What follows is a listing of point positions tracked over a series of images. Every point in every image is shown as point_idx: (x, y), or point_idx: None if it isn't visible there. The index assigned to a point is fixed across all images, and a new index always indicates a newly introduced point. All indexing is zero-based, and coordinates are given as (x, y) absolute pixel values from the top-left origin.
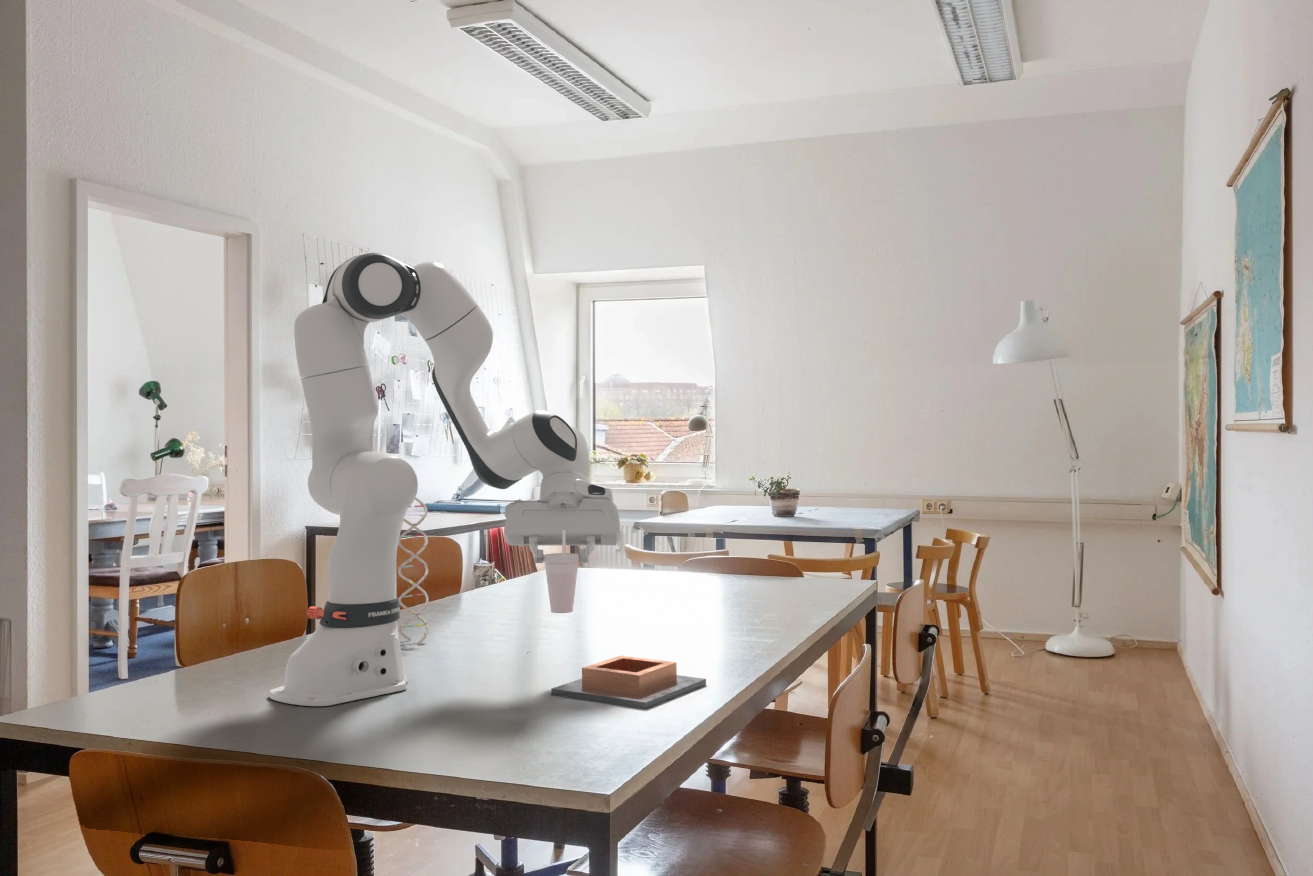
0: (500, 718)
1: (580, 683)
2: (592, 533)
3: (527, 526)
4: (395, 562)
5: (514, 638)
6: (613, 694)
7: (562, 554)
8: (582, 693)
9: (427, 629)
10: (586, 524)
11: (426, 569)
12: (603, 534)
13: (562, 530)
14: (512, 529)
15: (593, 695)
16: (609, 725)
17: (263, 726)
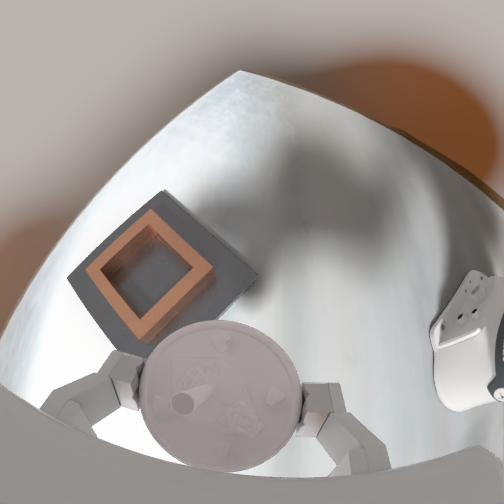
0: (314, 194)
1: (215, 294)
2: (37, 409)
3: (424, 500)
4: None
5: None
6: (184, 228)
7: (214, 378)
8: (220, 242)
9: None
10: (32, 462)
11: None
12: (6, 388)
13: (195, 399)
14: (477, 460)
15: (208, 232)
16: (211, 155)
17: (477, 224)
